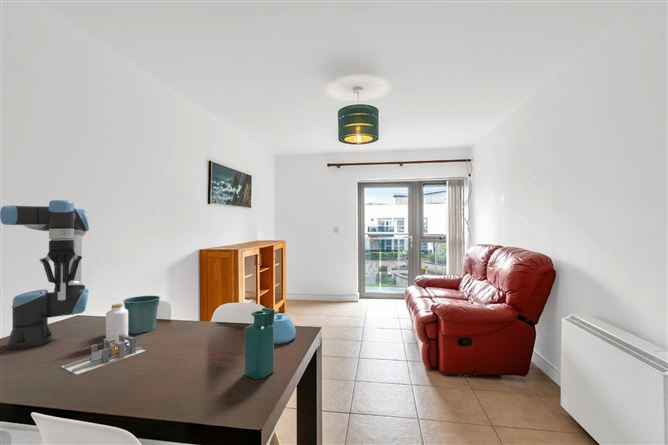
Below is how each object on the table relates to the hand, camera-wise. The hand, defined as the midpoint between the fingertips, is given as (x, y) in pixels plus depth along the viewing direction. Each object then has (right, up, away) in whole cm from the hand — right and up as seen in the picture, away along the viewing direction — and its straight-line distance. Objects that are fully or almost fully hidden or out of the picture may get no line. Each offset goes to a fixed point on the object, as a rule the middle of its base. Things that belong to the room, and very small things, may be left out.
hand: (61, 299), depth 125 cm
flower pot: (+9, -25, +37) cm, 46 cm away
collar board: (+17, -24, +1) cm, 30 cm away
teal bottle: (+81, -24, -11) cm, 85 cm away
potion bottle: (+10, -25, +17) cm, 32 cm away
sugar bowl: (+82, -24, +23) cm, 88 cm away
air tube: (+18, -23, +2) cm, 29 cm away
